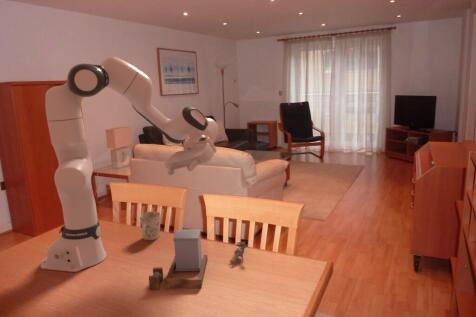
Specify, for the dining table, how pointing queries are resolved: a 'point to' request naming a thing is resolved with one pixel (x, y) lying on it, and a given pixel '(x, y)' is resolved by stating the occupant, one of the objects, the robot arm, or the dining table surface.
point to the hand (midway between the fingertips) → (179, 171)
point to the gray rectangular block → (188, 249)
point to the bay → (176, 282)
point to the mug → (150, 225)
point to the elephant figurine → (239, 251)
